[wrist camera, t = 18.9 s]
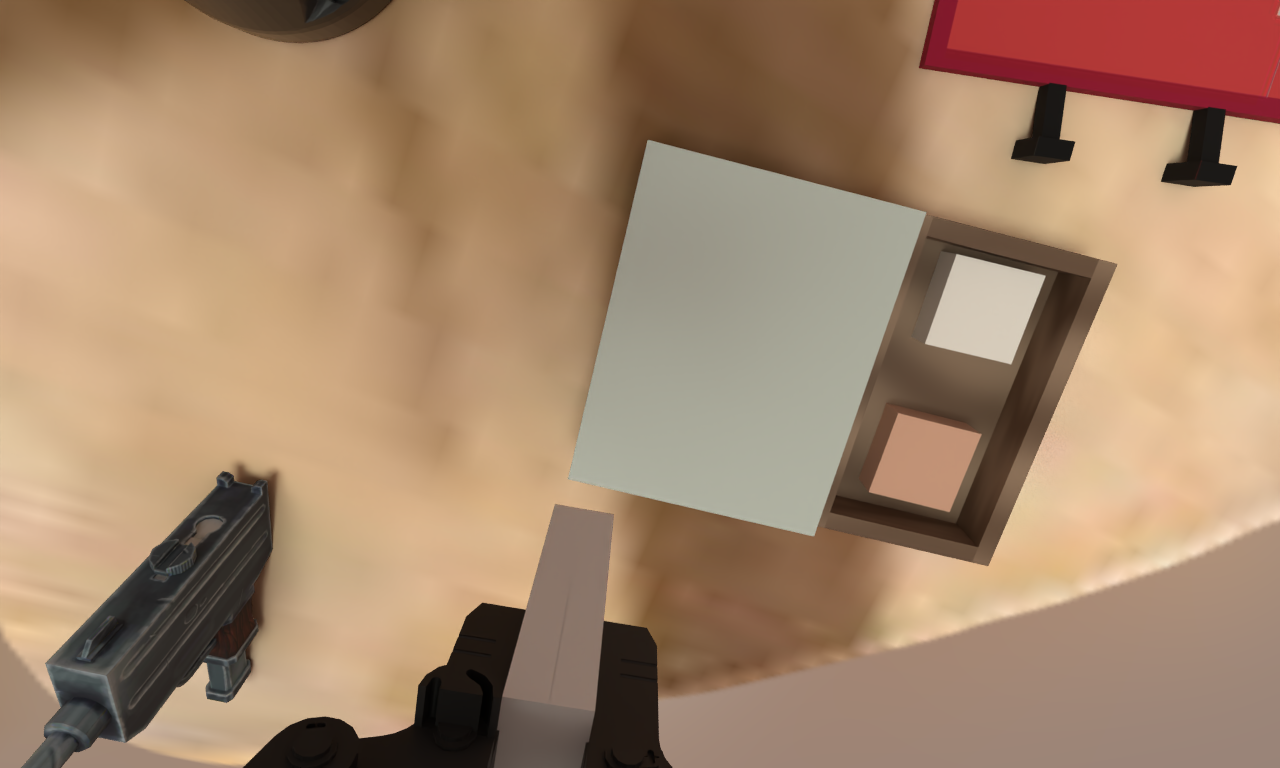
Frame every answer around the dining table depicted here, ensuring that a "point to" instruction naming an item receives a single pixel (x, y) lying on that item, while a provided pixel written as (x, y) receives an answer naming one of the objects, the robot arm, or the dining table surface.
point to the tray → (969, 394)
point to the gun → (164, 626)
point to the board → (739, 338)
